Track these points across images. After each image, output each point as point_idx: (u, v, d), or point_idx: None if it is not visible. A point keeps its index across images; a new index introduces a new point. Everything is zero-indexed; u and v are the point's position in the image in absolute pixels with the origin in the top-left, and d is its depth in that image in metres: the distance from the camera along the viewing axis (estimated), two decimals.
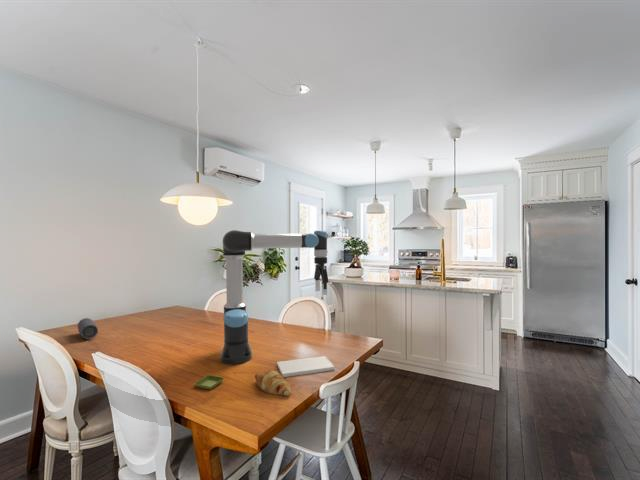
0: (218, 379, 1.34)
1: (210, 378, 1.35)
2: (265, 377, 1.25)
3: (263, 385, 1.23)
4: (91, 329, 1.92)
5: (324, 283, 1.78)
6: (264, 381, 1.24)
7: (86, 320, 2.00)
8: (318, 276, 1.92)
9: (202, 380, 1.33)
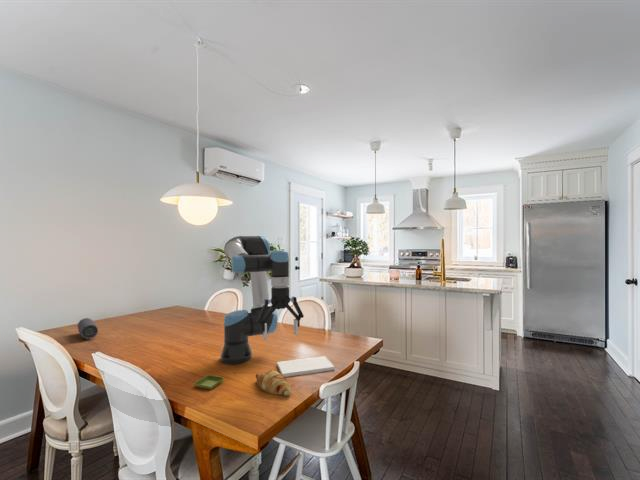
0: (218, 379, 1.34)
1: (209, 378, 1.35)
2: (265, 377, 1.25)
3: (263, 385, 1.23)
4: (91, 329, 1.92)
5: (260, 323, 1.31)
6: (264, 381, 1.24)
7: (86, 320, 2.00)
8: (292, 314, 1.37)
9: (202, 380, 1.33)
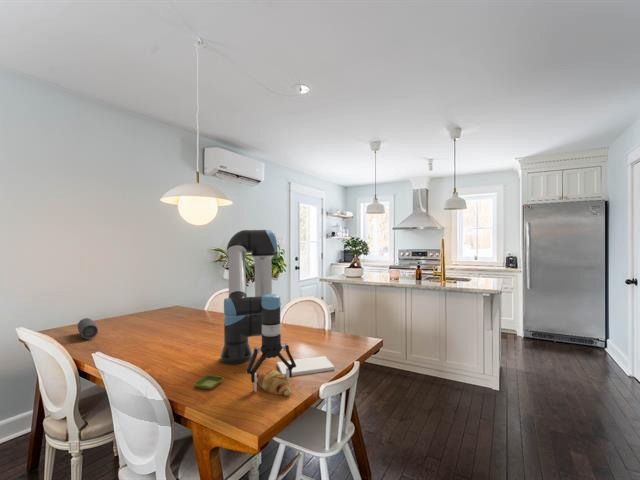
0: (218, 379, 1.34)
1: (209, 378, 1.35)
2: (266, 377, 1.25)
3: (264, 384, 1.23)
4: (91, 329, 1.92)
5: None
6: (265, 381, 1.24)
7: (86, 320, 2.00)
8: (284, 363, 1.28)
9: (202, 380, 1.33)
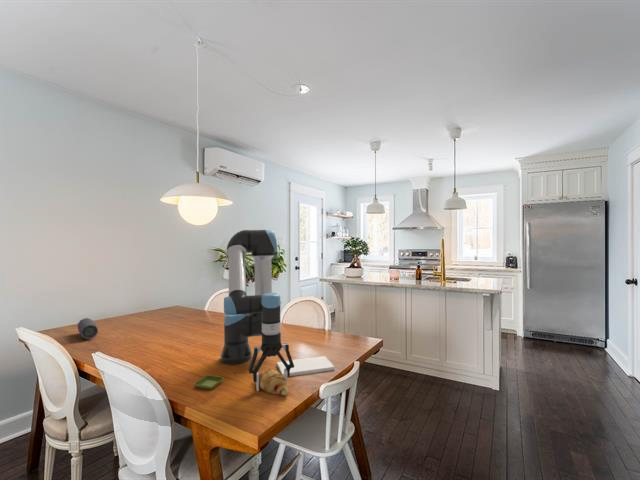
0: (218, 379, 1.34)
1: (209, 378, 1.35)
2: (264, 376, 1.25)
3: (262, 384, 1.23)
4: (91, 329, 1.92)
5: None
6: (263, 380, 1.24)
7: (86, 320, 2.00)
8: (282, 362, 1.28)
9: (202, 380, 1.32)
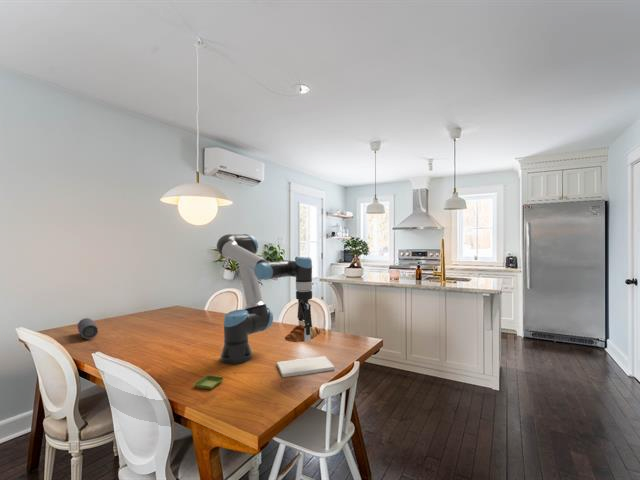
0: (218, 379, 1.34)
1: (209, 378, 1.35)
2: None
3: (311, 333, 1.44)
4: (91, 329, 1.92)
5: (307, 327, 1.40)
6: None
7: (86, 320, 2.00)
8: (302, 315, 1.51)
9: (201, 380, 1.32)
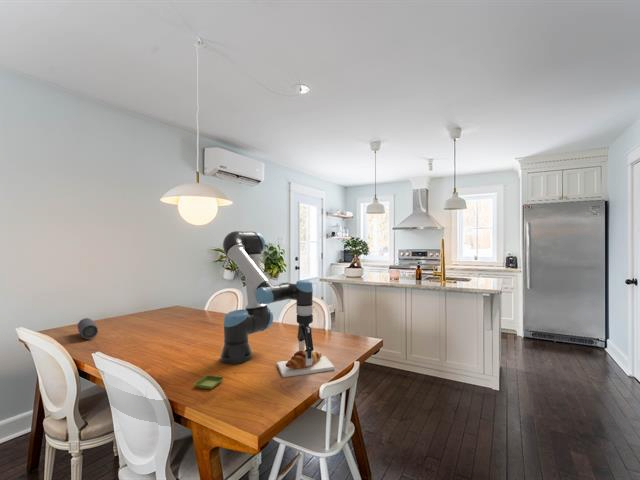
0: (217, 379, 1.34)
1: (208, 379, 1.35)
2: None
3: (312, 359, 1.44)
4: (91, 329, 1.92)
5: (308, 351, 1.39)
6: None
7: (86, 320, 2.00)
8: (302, 336, 1.53)
9: (201, 380, 1.32)
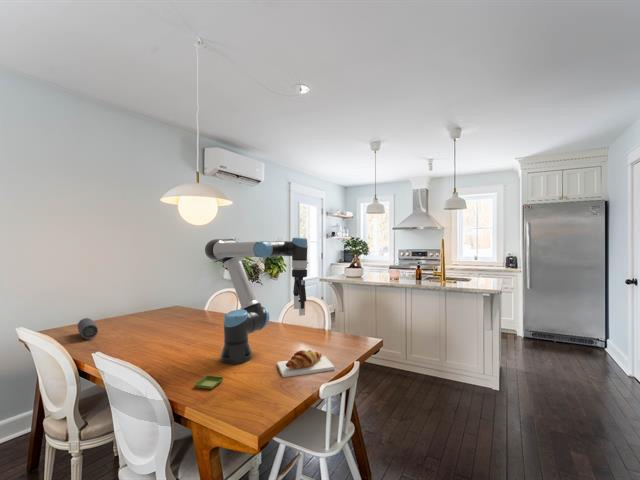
0: (217, 379, 1.34)
1: (208, 379, 1.35)
2: (308, 354, 1.45)
3: (312, 359, 1.44)
4: (91, 329, 1.92)
5: (301, 302, 1.48)
6: (311, 356, 1.45)
7: (86, 320, 2.00)
8: (297, 291, 1.61)
9: (201, 381, 1.32)
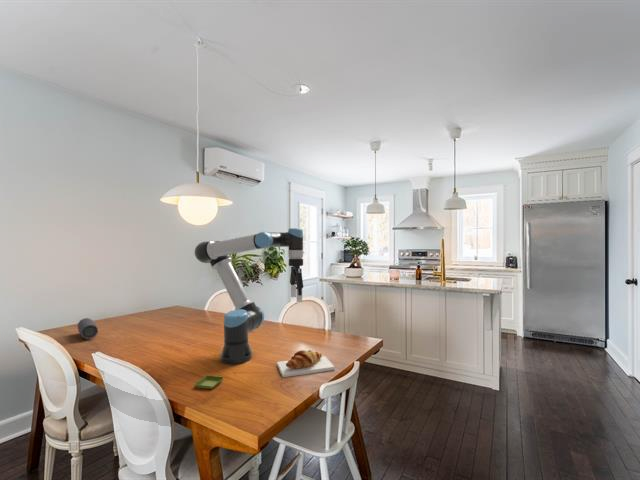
0: (217, 379, 1.34)
1: (208, 379, 1.35)
2: (308, 354, 1.45)
3: (312, 359, 1.44)
4: (91, 329, 1.92)
5: (298, 288, 1.55)
6: (311, 356, 1.45)
7: (86, 320, 2.00)
8: (294, 280, 1.69)
9: (201, 381, 1.32)
